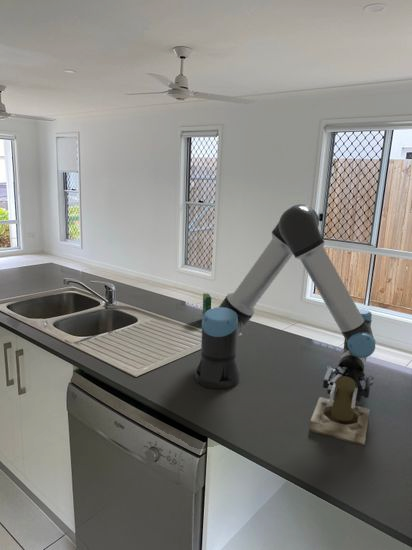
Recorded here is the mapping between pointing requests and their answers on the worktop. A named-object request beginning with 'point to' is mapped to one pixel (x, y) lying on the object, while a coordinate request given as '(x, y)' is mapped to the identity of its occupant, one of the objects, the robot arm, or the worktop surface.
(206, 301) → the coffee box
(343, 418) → the olive green peg
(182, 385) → the worktop surface
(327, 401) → the holder block
